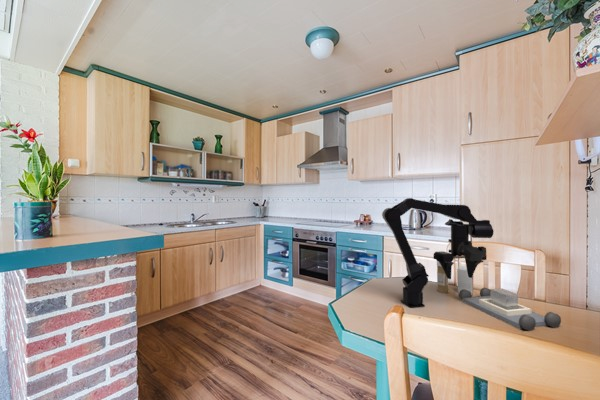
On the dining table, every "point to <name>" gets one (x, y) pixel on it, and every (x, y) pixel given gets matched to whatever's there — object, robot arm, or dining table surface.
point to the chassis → (510, 312)
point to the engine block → (504, 298)
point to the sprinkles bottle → (441, 279)
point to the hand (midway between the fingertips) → (459, 278)
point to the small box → (464, 280)
